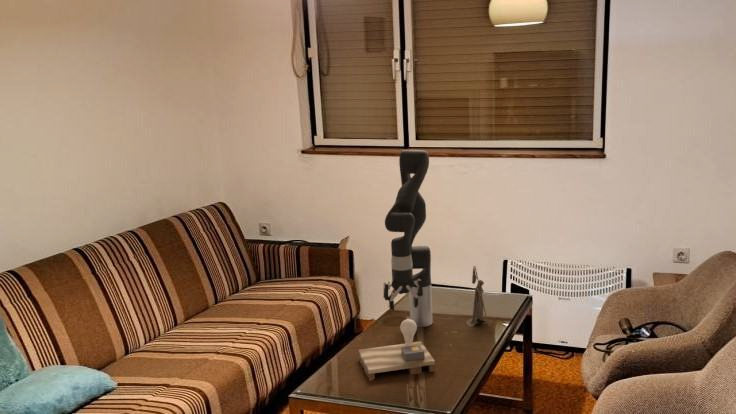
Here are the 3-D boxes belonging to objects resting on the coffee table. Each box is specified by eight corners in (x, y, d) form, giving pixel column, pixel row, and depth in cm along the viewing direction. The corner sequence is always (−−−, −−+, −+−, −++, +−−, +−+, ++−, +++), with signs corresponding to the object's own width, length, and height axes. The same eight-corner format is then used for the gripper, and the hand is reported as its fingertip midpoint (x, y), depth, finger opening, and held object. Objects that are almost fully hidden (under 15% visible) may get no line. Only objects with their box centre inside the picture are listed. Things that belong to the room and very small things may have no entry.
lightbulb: (418, 345, 267) (418, 317, 265) (414, 351, 261) (414, 323, 259) (403, 343, 269) (402, 316, 267) (398, 349, 263) (398, 321, 261)
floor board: (359, 359, 266) (358, 349, 266) (421, 351, 271) (420, 341, 270) (369, 380, 249) (368, 370, 248) (435, 371, 254) (434, 360, 253)
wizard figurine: (484, 328, 290) (484, 269, 284) (464, 326, 293) (463, 267, 287) (490, 319, 299) (489, 262, 294) (470, 317, 302) (469, 260, 297)
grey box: (401, 355, 259) (401, 347, 258) (419, 352, 260) (419, 344, 259) (405, 361, 253) (405, 353, 252) (424, 359, 254) (424, 351, 254)
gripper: (418, 261, 262) (419, 302, 266) (380, 265, 260) (382, 307, 263) (423, 267, 255) (425, 309, 259) (385, 271, 253) (387, 314, 256)
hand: (403, 308), depth 261 cm, fingers open, 8 cm apart
